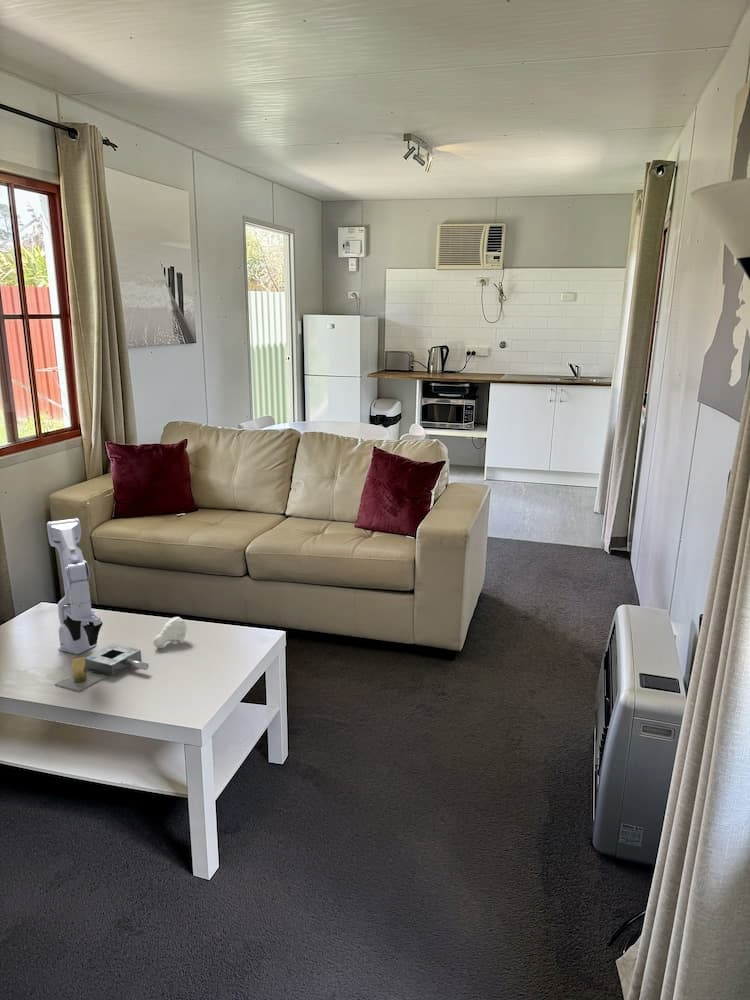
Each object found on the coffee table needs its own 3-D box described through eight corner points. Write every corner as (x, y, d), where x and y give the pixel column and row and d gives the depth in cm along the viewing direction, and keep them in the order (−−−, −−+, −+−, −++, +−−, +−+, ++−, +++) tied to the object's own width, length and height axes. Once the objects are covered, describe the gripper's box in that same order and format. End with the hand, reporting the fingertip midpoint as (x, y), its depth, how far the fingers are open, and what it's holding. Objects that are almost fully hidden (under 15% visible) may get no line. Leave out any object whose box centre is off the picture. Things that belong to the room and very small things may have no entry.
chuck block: (84, 670, 218) (83, 658, 217) (114, 654, 229) (113, 643, 228) (132, 682, 210) (131, 670, 209) (160, 666, 220) (159, 654, 219)
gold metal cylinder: (79, 683, 208) (76, 662, 207) (71, 681, 210) (69, 659, 209) (89, 679, 211) (87, 657, 210) (81, 676, 213) (79, 655, 212)
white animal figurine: (187, 617, 237) (157, 631, 228) (190, 639, 239) (161, 654, 230) (175, 613, 240) (145, 627, 232) (179, 635, 243) (150, 650, 234)
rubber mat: (55, 685, 209) (55, 684, 208) (82, 671, 217) (82, 670, 217) (79, 692, 204) (79, 690, 204) (105, 677, 213) (105, 676, 213)
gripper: (107, 600, 212) (111, 642, 215) (75, 592, 219) (80, 633, 222) (87, 608, 206) (92, 650, 209) (56, 600, 213) (61, 641, 216)
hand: (85, 642), depth 215 cm, fingers open, 7 cm apart
